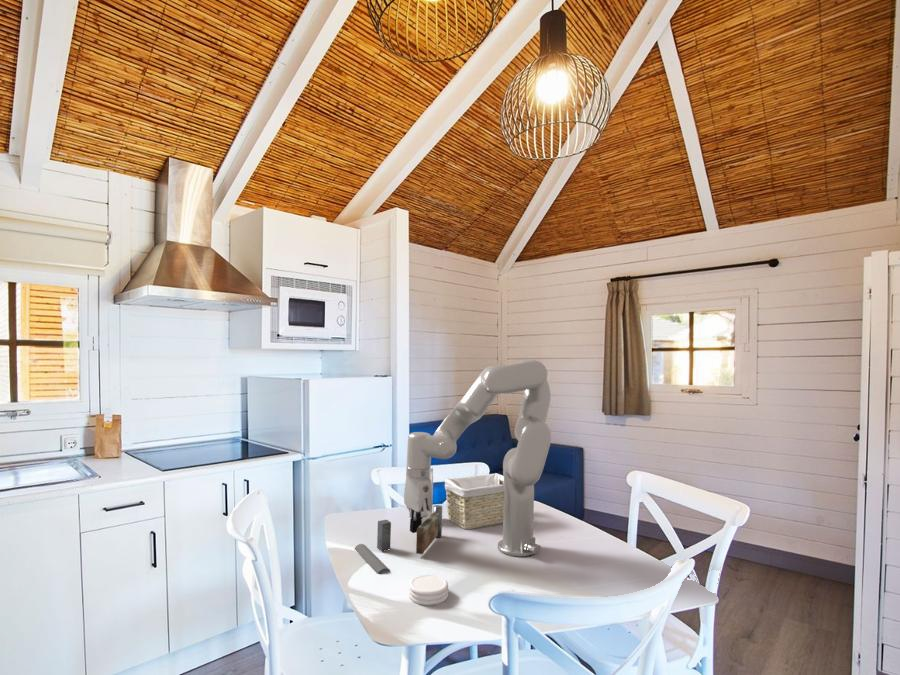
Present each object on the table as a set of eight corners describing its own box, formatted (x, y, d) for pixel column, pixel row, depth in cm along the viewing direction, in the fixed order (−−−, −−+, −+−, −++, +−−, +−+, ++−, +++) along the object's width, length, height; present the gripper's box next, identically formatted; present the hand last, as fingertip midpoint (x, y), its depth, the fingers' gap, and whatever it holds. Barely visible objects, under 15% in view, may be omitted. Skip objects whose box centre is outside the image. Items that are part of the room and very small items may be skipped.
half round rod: (366, 548, 157) (366, 542, 157) (391, 573, 140) (391, 566, 140) (353, 550, 155) (353, 545, 155) (377, 576, 138) (377, 570, 138)
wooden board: (432, 534, 165) (433, 512, 165) (438, 535, 165) (438, 513, 165) (416, 553, 150) (416, 528, 150) (422, 554, 149) (423, 529, 150)
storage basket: (462, 532, 172) (463, 489, 172) (441, 517, 186) (442, 477, 187) (520, 523, 182) (520, 482, 183) (496, 509, 197) (497, 472, 197)
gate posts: (443, 537, 167) (444, 507, 167) (381, 551, 153) (382, 519, 154) (438, 534, 169) (439, 504, 169) (377, 548, 156) (378, 516, 156)
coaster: (449, 606, 122) (449, 591, 122) (408, 607, 122) (409, 592, 122) (446, 586, 132) (446, 573, 132) (408, 587, 132) (409, 573, 132)
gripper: (441, 476, 152) (438, 537, 152) (416, 466, 165) (413, 522, 164) (420, 479, 148) (417, 541, 148) (396, 468, 160) (393, 525, 160)
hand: (415, 531), depth 156 cm, fingers closed
